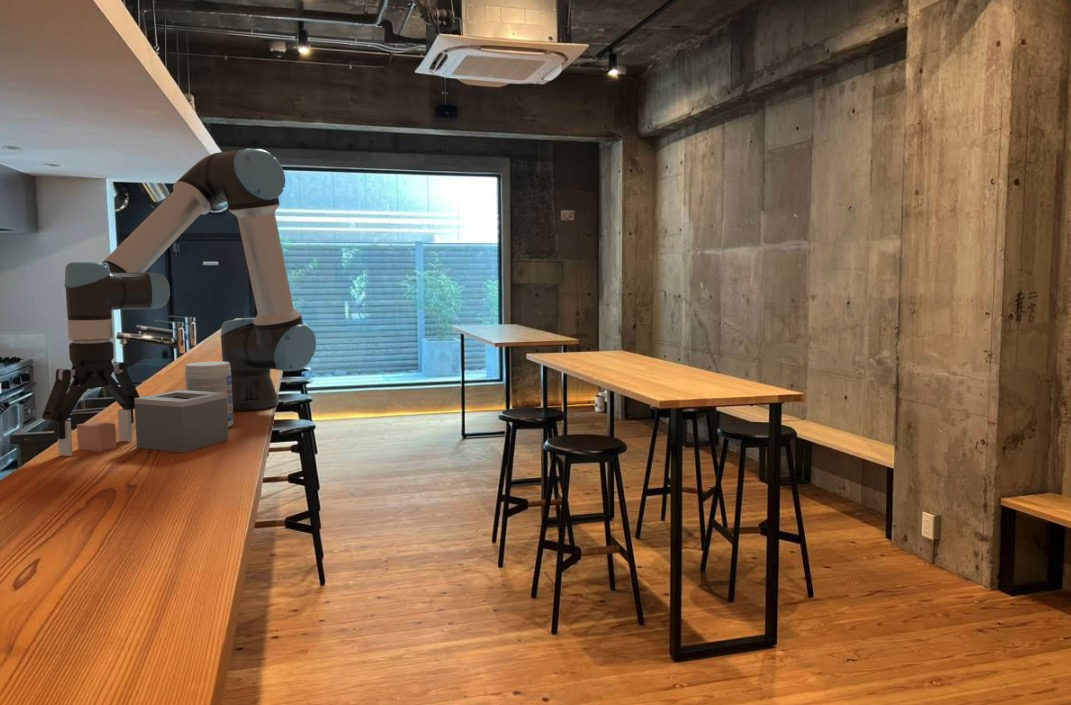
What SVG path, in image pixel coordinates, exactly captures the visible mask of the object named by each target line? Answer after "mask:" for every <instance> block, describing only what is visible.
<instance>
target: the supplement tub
mask: <svg viewBox="0 0 1071 705" xmlns="http://www.w3.org/2000/svg"><path fill="white" fill-rule="evenodd" d="M184 369H185V370H184V372H185V374H184V377H185V378H184V379H185V382H184V383H185V390H191V391H205V392H220V393H227V415H228V428H231V427H232V426H233V425H234V411H233V400H232V380H231V368H230V363H229V362H222V361H201V362H190V363H186V364H185V368H184Z"/></svg>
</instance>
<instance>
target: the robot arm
mask: <svg viewBox="0 0 1071 705" xmlns="http://www.w3.org/2000/svg"><path fill="white" fill-rule="evenodd" d="M285 187H286V176H285V171H284V168H283V166H282V165H281V163H280V162H279V160H278V159H277V158H276V157H275V156H273V154H271V152H268V151H267V150H264V149H261V148H243V149H237V150H229V151H221V152H220V151H219V152H213V153H212V154H209V155H207V156H205V157H203V158H201V159H200V160H199V161H198V162H197V163H195V164H194V165H193V166H192V167H191V168H189V169H188V170H187V171H186V172H185V173H184V174H183V175H182V176H181V177H180V178H179V179H178V180H176V182H174V184H173V185H172V190H173V191H172V192H171V193H170V194H169V195H168V196H167V197H166V198H165V199H164V200H163V201H162V202H161V203H160V204H159V205H158V206H157V207H156V208H155V209H153V210H154V211H152V212H151V213H150V214H149V216H147V217H146V218H145V219H144V220H143V221H142V222H141V223H140V224H139V225H138V226H137V227H136V228H135V229H134V230H133V231H132V232H130V234H129V235H128V236H127V237H126V238H125V239H124V240H123V241H122V242H121V243H120V244H119V245H118V246H117V247H116V248H115V249H114V250H113V251H112V252H111V253H110V254H109V255H108V256H107V257H106V258H105V259H104V260H103V261H102V262H98V261H97V262H95V261H91V262H90V261H89V262H88V261H78V262H77V261H72V262H69V263H67V264H66V265H65V268H64V269H65V271H64V272H65V273H64V289H65V298H66V300H65V301H66V312H67V313H66V315H67V333H68V336H67V337H68V340H70V341H72V342H70V343H69V344H68V350H69V351H68V353H69V355H68V356H69V361H70V362H71V365H72V366H71V369H67V368H58V369H56V371H55V380H54V383H53V386H52V389H51V392H50V394H49V397H48V400H47V402H46V404H45V407H44V410H43V413H42V415H41V419H42V420H44V421H49V422H52V423H53V437H54V438H55V439H56V440H57V451H58V456H66V457H71V456H74V454H73V438H72V437H73V436H72V422H71V421H68V418H69V416H70V415H71V413H72V412H73V411H74V409H75V407H76V405H77V404H78V403H79V401H80V399H81V398H82V397H83V394H84V393H86V392H87V391H88V390H94V389H96V388H104V390H106V392H107V393H108V394H109V395H110V396H111V398H112V399H114V400H115V401H116V403H117V404H118V405H119V406H120V407H121V408H118V409H117V420H118V422H117V423H118V437H119V441H123V442H124V441H125V442H131V441H133V427H132V424H134V419H135V418H134V410H135V402H134V398H140V397H141V396H140V395H139V392H138V390H137V389H136V386H135V384H134V383H133V380H132V379H131V376H130V374H129V371H128V365H127V364H128V363H126V362H124V361H115V362H113V361H112V360H114V358H115V355H114V354H115V352H114V351H115V350H114V349H115V348H114V342H113V341H111V340H112V339H113V338H114V329H113V328H114V327H113V311H118V310H152V309H160V308H163V307H165V306H166V305H167V304H168V302H169V300H170V297H171V291H170V290H171V286H170V284H169V281H168V280H167V278H166V276H164V275H163V274H161V273H156V272H149V271H148V272H146V271H147V270H148V269H149V268H150V267H151V266H152V265H153V264H154V263H155V262H156V261H157V260H158V259H159V258H160V257H161V256H162V255H163V254H164V253H165V252H166V250H168V248H170V246H171V245H172V244H174V243H175V241H176V240H177V239H178V238H179V237H180V236H181V235H182V234H183V233H184V232H185V231H186V230H187V229H188V228H189V227H190V226H191V225H192V224H193V223H194V221H195V220H196V219H197V218H198V217H199V216H200V215H207V214H209V213H210V211H211V210H213V208H215V207H216V206H219V205H221V204H224V203H226V204H227V208H228V212H230V213H231V214H233V215H234V216H235V217H236V218H237V222H238V226H239V231H240V237H241V240H242V241H241V242H242V245H243V250H244V254H245V260H246V265H247V269H248V274H249V279H250V283H251V288H252V293H253V298H254V302H255V307H256V311H257V314H256V316H255V317H249V318H248V317H247V318H239V319H231V320H226V321H224V322H223V323H222V324H221V326H220V327H221V331H220V340H221V341H220V343H221V344H220V345H221V362H229V363H230V368H231V380H232V400H233V412H236V411H237V412H238V411H242V412H243V411H246V412H247V411H256V410H264V409H270V408H269V407H271V408H274V407H277V406H278V405H279V396H278V394H277V392H276V389H275V386H274V383H273V379H272V377H271V370H277V371H282V372H289V371H294V372H295V371H299V370H302V369H303V368H305V367H306V366H308V365H309V363H310V362H311V361H312V358H313V357H314V355H315V353H316V350H317V348H316V347H317V338H316V335H315V332H314V331H313V329H310V327H309V326H308V325H305V324H304V322H303V318H302V314H301V312H300V311H298V310H297V309H295V308H294V306H293V305H294V304H293V299H292V293H291V288H290V285H289V284H290V283H289V279H288V274H287V273H288V272H287V268H286V262H285V259H284V258H285V257H284V253H283V249H282V243H281V238H280V233H279V228H278V222H277V218H276V211H277V210H278V208H279V207H280V199H279V198H280V196H281V195H282V194H283V192H284V188H285ZM113 374H114V377H115V378H114V377H113V376H112V375H113ZM71 380H72V381H71ZM273 406H274V407H273Z"/></svg>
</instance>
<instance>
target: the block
mask: <svg viewBox="0 0 1071 705" xmlns="http://www.w3.org/2000/svg"><path fill="white" fill-rule="evenodd" d="M116 432H117V431H116V423H114V422H113V423H110V422H100V421H90V422H89V421H88V422H85V423H79V424H76V433H77V434H76V435H77V450H81V449H83V451H90V452H106V451H110V450H114V449H117V434H116Z"/></svg>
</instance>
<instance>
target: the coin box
mask: <svg viewBox="0 0 1071 705" xmlns="http://www.w3.org/2000/svg"><path fill="white" fill-rule="evenodd" d="M134 402H135V409H134V414H135V415H134V416H135V418H134V419H135V436H136V437H135V438H136V439H135V440H136V448H137V449H145V450H153V451H154V450H155V451H164V452H174V453H182V454H185V453H188V452H193V451H195V450H199V449H201V448H206V447H208V446H213V445H216V444H219V443H223V442H226V441H229V427H228V415H227V393H220V392H205V391H191V390H186V389H178V390H173V391H168V392H163V393H158V394H157V393H156V394H152V395H146V396H140V398H134Z"/></svg>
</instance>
